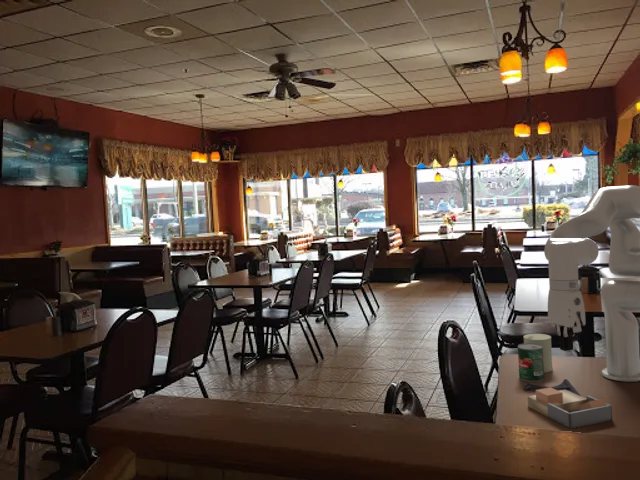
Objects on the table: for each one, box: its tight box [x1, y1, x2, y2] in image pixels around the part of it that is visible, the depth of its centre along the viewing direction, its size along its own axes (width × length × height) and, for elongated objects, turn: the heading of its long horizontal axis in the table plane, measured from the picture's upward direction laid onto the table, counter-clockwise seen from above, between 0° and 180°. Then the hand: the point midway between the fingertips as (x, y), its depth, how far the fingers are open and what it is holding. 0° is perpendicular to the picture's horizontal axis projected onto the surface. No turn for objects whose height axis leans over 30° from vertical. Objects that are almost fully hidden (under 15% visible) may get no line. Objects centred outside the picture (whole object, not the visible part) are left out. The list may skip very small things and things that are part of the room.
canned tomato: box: [517, 342, 545, 383], centre depth 183 cm, size 8×8×11 cm
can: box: [522, 333, 554, 374], centre depth 193 cm, size 9×9×12 cm
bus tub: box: [547, 395, 613, 429], centre depth 148 cm, size 14×8×4 cm, turn 106°
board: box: [527, 390, 587, 418], centre depth 157 cm, size 13×9×3 cm
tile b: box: [535, 386, 563, 404], centre depth 155 cm, size 5×5×2 cm
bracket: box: [523, 378, 581, 396], centre depth 172 cm, size 14×15×3 cm
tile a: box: [578, 398, 608, 411], centre depth 148 cm, size 5×5×2 cm
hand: (566, 349), depth 155 cm, fingers closed
